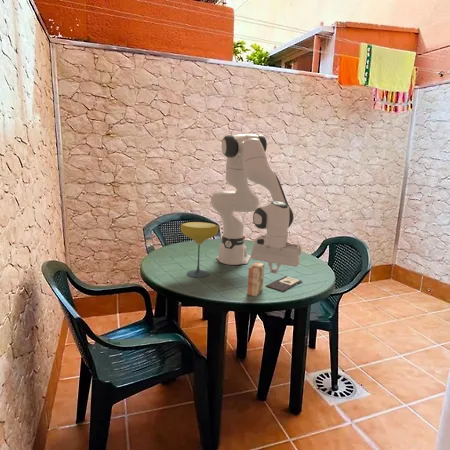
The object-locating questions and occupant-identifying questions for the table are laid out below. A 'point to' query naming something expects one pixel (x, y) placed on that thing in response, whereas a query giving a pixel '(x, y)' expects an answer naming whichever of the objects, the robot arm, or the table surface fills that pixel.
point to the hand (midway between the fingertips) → (273, 272)
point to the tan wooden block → (255, 279)
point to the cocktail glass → (199, 238)
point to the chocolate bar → (283, 283)
